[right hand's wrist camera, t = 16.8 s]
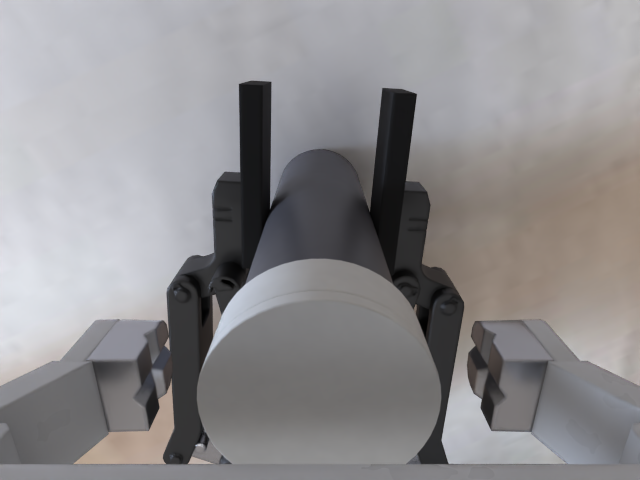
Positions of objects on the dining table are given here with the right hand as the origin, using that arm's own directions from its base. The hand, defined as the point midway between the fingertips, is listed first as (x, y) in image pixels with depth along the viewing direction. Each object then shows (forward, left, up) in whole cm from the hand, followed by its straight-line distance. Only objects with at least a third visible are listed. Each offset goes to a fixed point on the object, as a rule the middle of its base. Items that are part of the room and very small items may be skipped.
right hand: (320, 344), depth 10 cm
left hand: (-5, 0, -8) cm, 9 cm away
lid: (0, 0, +2) cm, 2 cm away
